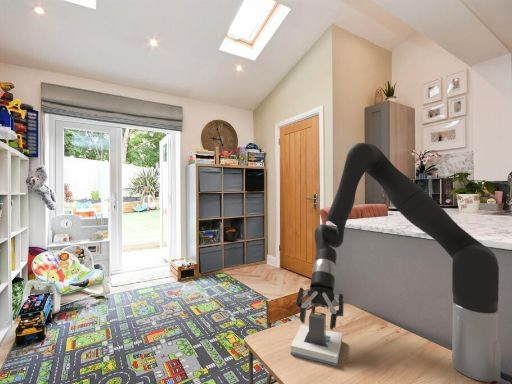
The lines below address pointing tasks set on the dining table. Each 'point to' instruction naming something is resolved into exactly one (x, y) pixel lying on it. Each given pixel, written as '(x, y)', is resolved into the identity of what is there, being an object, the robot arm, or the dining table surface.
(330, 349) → the dock
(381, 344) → the dining table surface
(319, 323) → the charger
